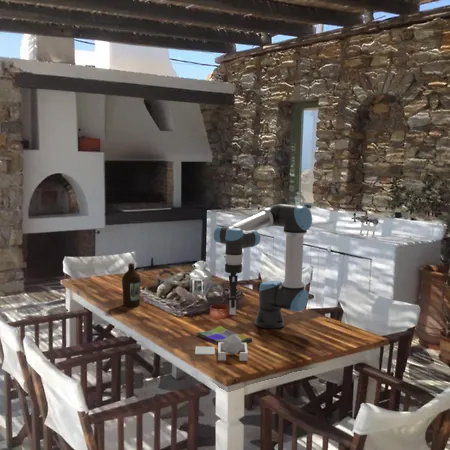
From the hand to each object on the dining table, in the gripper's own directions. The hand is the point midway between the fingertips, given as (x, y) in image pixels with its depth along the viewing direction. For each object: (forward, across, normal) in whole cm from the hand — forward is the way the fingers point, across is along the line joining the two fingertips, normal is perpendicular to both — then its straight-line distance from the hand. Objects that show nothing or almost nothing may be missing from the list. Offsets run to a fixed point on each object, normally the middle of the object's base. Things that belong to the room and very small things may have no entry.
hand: (232, 310), depth 253 cm
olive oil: (+21, -74, -58) cm, 96 cm away
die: (+21, 0, 0) cm, 21 cm away
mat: (+21, -4, -12) cm, 24 cm away
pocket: (+21, 0, 0) cm, 21 cm away
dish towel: (+22, -22, -3) cm, 31 cm away
